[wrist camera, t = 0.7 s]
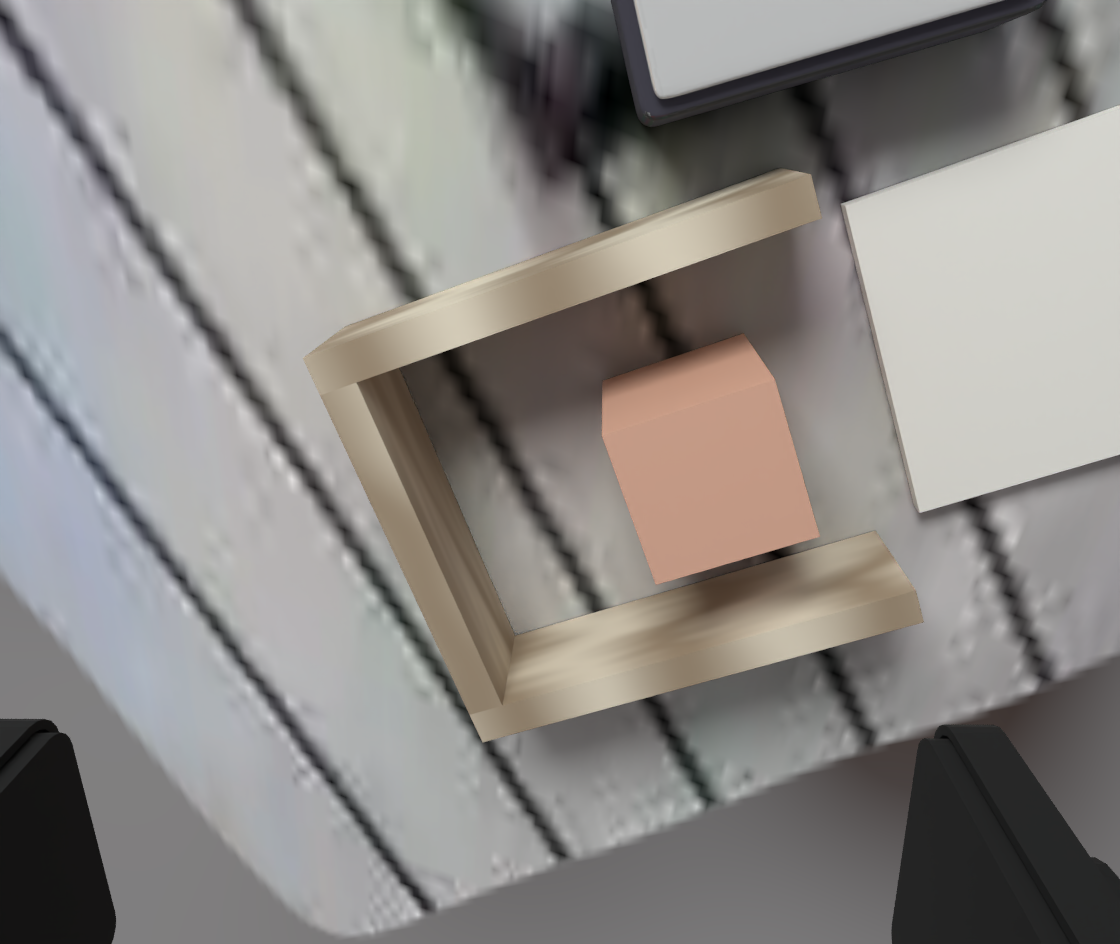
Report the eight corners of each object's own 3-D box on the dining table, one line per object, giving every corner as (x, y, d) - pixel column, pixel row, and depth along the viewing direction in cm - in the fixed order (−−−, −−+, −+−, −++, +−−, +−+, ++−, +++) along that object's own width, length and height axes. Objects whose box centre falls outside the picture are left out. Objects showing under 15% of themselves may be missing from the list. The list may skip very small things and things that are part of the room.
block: (743, 332, 30) (774, 379, 24) (781, 464, 32) (820, 536, 26) (602, 380, 31) (601, 435, 25) (647, 506, 32) (655, 585, 27)
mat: (1137, 98, 27) (1148, 98, 26) (1179, 428, 30) (1190, 433, 30) (840, 204, 28) (845, 205, 28) (914, 506, 32) (919, 513, 31)
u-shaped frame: (780, 167, 28) (810, 174, 24) (882, 558, 33) (923, 622, 28) (344, 327, 30) (302, 358, 26) (497, 669, 35) (482, 742, 31)
